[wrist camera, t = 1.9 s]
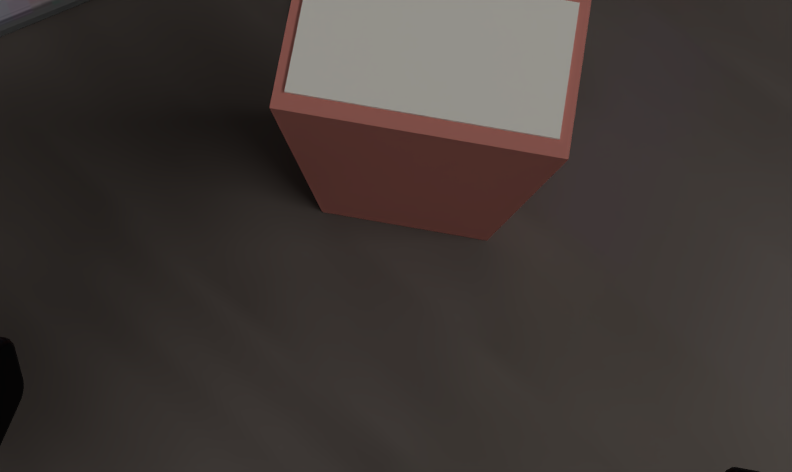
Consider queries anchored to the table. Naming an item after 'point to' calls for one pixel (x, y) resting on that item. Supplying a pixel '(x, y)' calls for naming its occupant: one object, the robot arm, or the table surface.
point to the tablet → (30, 12)
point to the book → (430, 105)
